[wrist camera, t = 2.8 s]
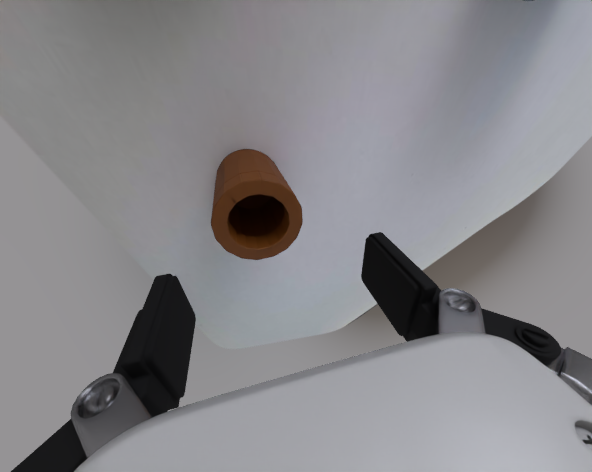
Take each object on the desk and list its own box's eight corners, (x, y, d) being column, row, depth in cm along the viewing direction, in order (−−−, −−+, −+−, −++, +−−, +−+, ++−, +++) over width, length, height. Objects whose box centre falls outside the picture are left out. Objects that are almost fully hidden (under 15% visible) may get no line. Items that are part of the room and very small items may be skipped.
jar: (204, 187, 22) (193, 235, 15) (240, 134, 21) (247, 159, 13) (255, 218, 26) (267, 271, 18) (290, 174, 24) (319, 212, 17)
